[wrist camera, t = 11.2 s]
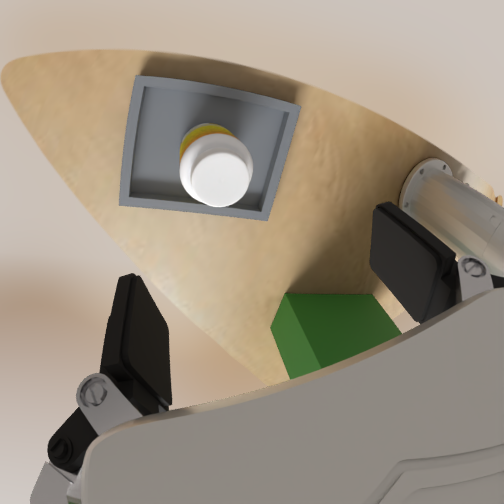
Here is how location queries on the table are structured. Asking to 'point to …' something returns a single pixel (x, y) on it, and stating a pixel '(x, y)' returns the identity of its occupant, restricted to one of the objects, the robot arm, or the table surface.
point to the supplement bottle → (214, 165)
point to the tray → (185, 118)
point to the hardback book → (328, 329)
